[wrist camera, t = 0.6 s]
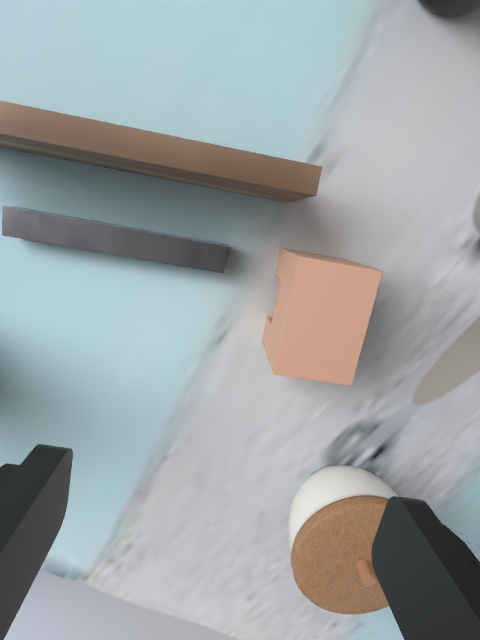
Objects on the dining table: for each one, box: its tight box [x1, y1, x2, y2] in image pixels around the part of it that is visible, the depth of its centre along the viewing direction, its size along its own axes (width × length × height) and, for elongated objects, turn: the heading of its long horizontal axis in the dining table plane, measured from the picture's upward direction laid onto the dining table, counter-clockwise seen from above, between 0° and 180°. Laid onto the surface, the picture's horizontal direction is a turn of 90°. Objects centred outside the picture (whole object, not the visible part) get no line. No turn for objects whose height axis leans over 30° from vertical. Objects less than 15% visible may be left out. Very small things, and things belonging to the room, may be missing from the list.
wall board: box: [0, 101, 322, 202], centre depth 24 cm, size 2×24×9 cm, turn 80°
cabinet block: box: [262, 248, 383, 386], centre depth 28 cm, size 8×6×7 cm
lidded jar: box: [288, 465, 399, 614], centre depth 32 cm, size 11×11×9 cm
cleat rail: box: [2, 206, 228, 273], centre depth 28 cm, size 2×16×2 cm, turn 80°
